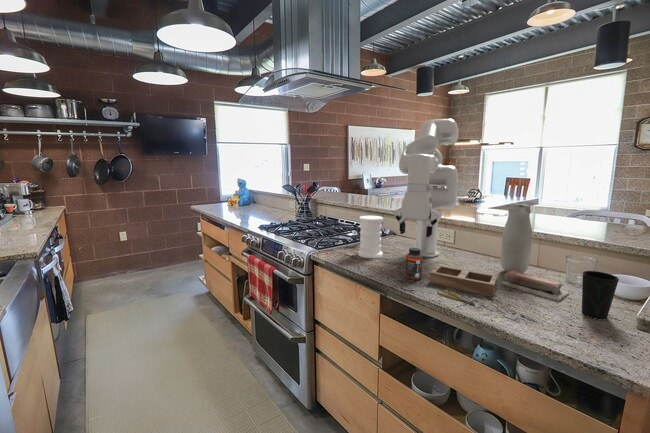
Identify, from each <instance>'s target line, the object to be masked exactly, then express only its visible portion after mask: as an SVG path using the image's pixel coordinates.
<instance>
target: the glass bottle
mask: <svg viewBox="0 0 650 433" xmlns="http://www.w3.org/2000/svg"><path fill="white" fill-rule="evenodd" d="M531 211H532V209H531V206H530V205H529V204H527V203H525V202H513V203H511V204H510V205H509V207H508V213H507V215H508V216H507V219H506V222H505V225H504V227H503V231H502V234H501V235H502V236H501V247H500V248H501V251H500V265H501V268H502V269H503V270H504V271H505V272H506V273H507V272H509V271H511V270H513V271H518V272H522V273H525V272H527V270H528V269H529V267H530V261H531V255H532V248H533V247H532V246H533V238H534V232H533V227H532V223H531V216H530V215H531V213H532V212H531Z"/></svg>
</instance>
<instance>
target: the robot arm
mask: <svg viewBox="0 0 650 433" xmlns="http://www.w3.org/2000/svg"><path fill="white" fill-rule="evenodd" d="M458 128H459V127H458V124H457V121H455V120H454V119H453V118H440V119H439V118H436V119H433V118H432V119H428V120H426V121H424V122H423V124H422V125H421V127H420V129H419V131H418V137H417V138H416V139H414V140H413V141H411V142H410V143H408V144H407V145H405V147H404V148H403V150H402V152H401V154H400V158H399V163H398V169H399V171H400V173H401V174H403V175H407V182H406V183H407V185H406V191H405V192H404V195H403V201H402V205H401V206H402V207H399V208H398V209H395V210H393V215H394V217H395V219H396V221H397V222H398V223H399V233H400V234H401V235H404V234H405V233H406V226H407V225H406V222H405V221H407V220H412V221H416V231H415V248H419V249H420V254H421V255H422V257H425V258H434V257H438V256H440V254H441V253H440V251H439V250H438V249H437V244H438V230H439V229H438V228H439V220H440V219H441V217H442V215H441V213H439V212H438V211H436V209H438V210H439V209H440V210H452V209H454V208H455V206H456V204H457V195H458V182H459V181H458V179H459V174H458V169H457V167H456V166H454V165H443V164H442V162H443V155H442V153H441V152H440V150H439V149H438V147H439V146H450V145H455V144H456V143H457V141H458V139H459V129H458ZM434 186H435V187H434ZM444 187H445V188H444ZM434 209H435V210H434ZM400 212H401V215H400Z"/></svg>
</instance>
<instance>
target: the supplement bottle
mask: <svg viewBox="0 0 650 433" xmlns="http://www.w3.org/2000/svg"><path fill="white" fill-rule="evenodd" d="M422 272H423V256H422V255H421V254H420V249H419V248H416V247H409V249H408V253H406V256H405V272H404V273H405V277H406V278H407V279H408V280H414V281H417V280H421V279H422V274H423V273H422Z"/></svg>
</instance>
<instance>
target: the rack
mask: <svg viewBox="0 0 650 433" xmlns="http://www.w3.org/2000/svg"><path fill="white" fill-rule="evenodd" d="M428 280H429V281H428V283H429V284H432V285H435V286H436V285H437V286H441V287H446V288H450V289H455V290H460V291H465V292H470V293H473V294H478V295H482V296H488V297H492V298H493V296H494V294H495V293H496V289H497V287H498V275H497V274H491V273H486V272H480V271H475V270H469V269H463V268H457V267H451V266H446V265H440V264H437V265H436V266H435V267H434V268H433V269H432V270H431V271H430V272H429V279H428Z"/></svg>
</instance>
